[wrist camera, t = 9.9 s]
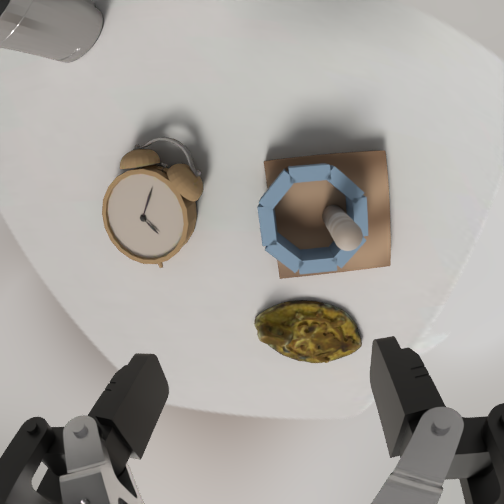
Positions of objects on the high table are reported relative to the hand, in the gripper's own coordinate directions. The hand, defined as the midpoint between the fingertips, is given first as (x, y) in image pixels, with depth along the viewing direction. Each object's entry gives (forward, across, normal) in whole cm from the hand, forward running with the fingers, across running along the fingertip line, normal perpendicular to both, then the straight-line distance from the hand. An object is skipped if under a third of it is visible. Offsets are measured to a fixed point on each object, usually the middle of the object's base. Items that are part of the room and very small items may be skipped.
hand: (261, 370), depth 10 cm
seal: (+25, -3, +16) cm, 30 cm away
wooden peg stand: (+25, -6, 0) cm, 26 cm away
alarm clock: (+25, +14, -4) cm, 29 cm away
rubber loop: (+23, -4, 0) cm, 23 cm away
